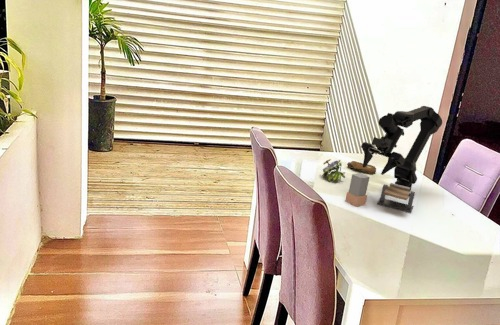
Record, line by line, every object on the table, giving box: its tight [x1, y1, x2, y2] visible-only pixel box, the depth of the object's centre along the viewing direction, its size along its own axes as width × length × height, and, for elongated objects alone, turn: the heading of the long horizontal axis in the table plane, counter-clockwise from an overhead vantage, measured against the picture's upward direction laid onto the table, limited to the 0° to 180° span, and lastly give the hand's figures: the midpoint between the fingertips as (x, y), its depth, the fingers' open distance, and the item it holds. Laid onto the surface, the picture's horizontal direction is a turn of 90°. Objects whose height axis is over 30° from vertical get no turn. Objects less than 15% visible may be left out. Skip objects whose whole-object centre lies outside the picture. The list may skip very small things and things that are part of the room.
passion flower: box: [321, 158, 346, 182], centre depth 220 cm, size 11×11×12 cm
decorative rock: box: [347, 160, 377, 175], centre depth 242 cm, size 11×4×15 cm
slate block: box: [348, 172, 370, 197], centre depth 192 cm, size 5×5×8 cm
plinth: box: [344, 191, 368, 207], centre depth 194 cm, size 6×6×4 cm
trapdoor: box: [384, 182, 411, 201], centre depth 191 cm, size 13×9×2 cm
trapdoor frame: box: [376, 183, 416, 214], centre depth 195 cm, size 7×14×8 cm, turn 65°
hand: (372, 170), depth 193 cm, fingers open, 9 cm apart
